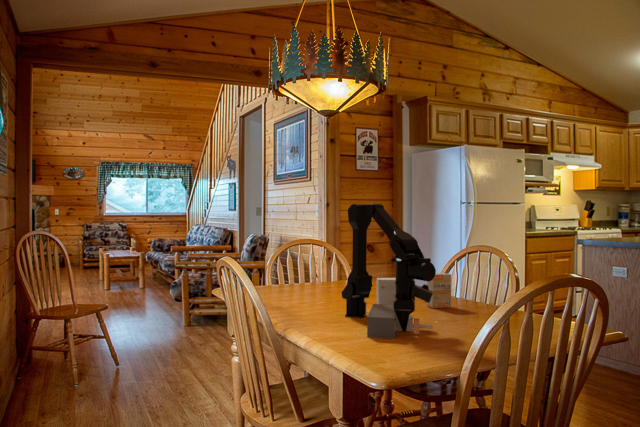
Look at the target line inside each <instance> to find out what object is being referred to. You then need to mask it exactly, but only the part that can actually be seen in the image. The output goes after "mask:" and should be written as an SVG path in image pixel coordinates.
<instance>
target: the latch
mask: <svg viewBox="0 0 640 427" xmlns="http://www.w3.org/2000/svg"><path fill="white" fill-rule="evenodd" d="M413 324H414V328H413V334H414V335H419V334H420V328H419V324H420V318H414V317H413Z"/></svg>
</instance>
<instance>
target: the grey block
mask: <svg viewBox="0 0 640 427" xmlns="http://www.w3.org/2000/svg"><path fill="white" fill-rule="evenodd" d="M396 317H397V316H396V313H395V311H394V305H387V304H377V303H373V304H372V306H371V308H370V309H369V313H368V315H367V317H366V318H367V322H366V323H367V326H366V329H367V330H366V331H367V332H366V334H367V335H366V338H375V339H377V338H378V339H379V338H380V339H395V338H396V332H397V331H396Z"/></svg>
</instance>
